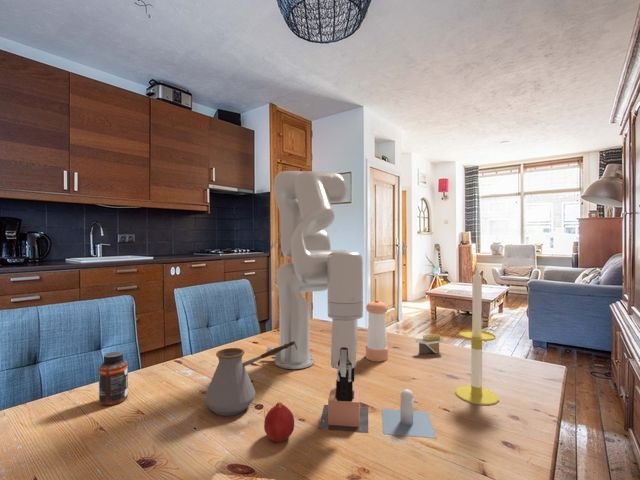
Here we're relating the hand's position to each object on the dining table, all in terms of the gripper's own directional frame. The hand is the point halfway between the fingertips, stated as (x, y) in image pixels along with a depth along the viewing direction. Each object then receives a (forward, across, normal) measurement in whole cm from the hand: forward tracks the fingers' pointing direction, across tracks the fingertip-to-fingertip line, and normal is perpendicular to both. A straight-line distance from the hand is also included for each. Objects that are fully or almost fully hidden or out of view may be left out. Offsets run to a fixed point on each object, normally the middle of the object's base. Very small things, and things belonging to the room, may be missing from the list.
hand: (346, 390), depth 72 cm
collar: (+6, -1, 0) cm, 6 cm away
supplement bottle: (+7, -3, -56) cm, 57 cm away
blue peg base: (+7, -1, +13) cm, 15 cm away
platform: (+7, -48, +26) cm, 55 cm away
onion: (+7, +8, -12) cm, 17 cm away
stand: (+7, -1, 0) cm, 7 cm away
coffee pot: (+7, -5, -22) cm, 24 cm away
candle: (+7, -18, +32) cm, 37 cm away
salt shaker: (+6, -42, +8) cm, 43 cm away
